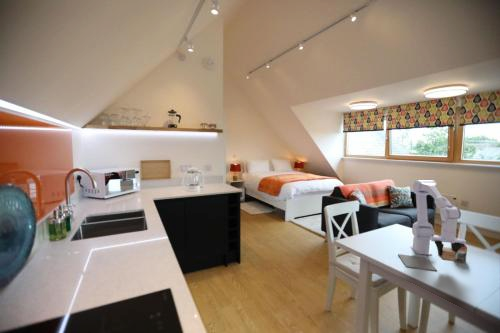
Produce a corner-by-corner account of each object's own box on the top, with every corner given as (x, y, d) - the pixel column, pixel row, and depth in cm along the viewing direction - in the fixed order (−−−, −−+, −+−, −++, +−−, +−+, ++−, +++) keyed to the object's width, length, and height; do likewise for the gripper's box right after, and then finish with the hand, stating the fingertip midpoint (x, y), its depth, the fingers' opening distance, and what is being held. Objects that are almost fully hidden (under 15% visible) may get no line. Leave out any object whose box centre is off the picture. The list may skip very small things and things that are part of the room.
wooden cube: (438, 255, 124) (438, 246, 124) (449, 256, 123) (450, 247, 122) (442, 260, 120) (443, 250, 119) (454, 261, 118) (455, 252, 118)
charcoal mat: (398, 255, 139) (398, 254, 139) (425, 258, 135) (425, 257, 135) (406, 267, 126) (406, 266, 126) (437, 271, 122) (437, 270, 121)
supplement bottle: (451, 256, 137) (453, 238, 136) (465, 259, 133) (467, 240, 132) (451, 260, 132) (453, 241, 131) (466, 264, 128) (468, 244, 127)
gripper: (435, 231, 118) (433, 257, 119) (470, 234, 114) (468, 261, 115) (429, 226, 125) (427, 251, 126) (462, 229, 120) (459, 254, 122)
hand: (446, 255), depth 121 cm, fingers closed on wooden cube, 5 cm apart
